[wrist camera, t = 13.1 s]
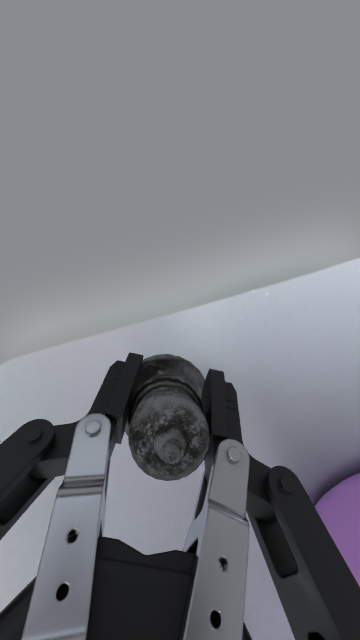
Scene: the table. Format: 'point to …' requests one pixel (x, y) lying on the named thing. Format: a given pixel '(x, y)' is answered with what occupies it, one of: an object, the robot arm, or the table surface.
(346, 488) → the teapot
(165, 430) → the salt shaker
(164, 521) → the table surface
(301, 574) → the robot arm
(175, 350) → the table surface
